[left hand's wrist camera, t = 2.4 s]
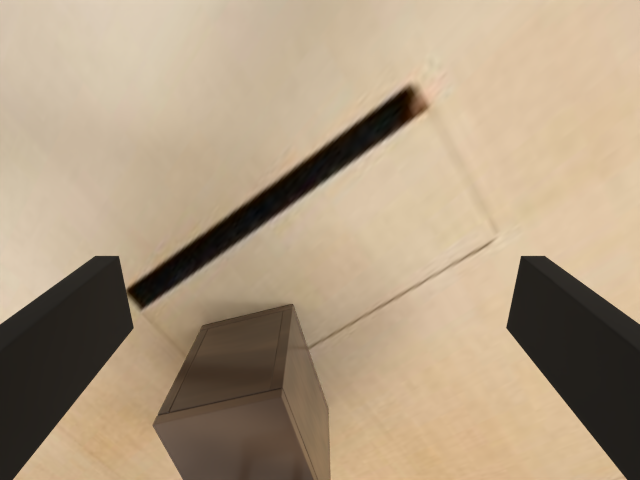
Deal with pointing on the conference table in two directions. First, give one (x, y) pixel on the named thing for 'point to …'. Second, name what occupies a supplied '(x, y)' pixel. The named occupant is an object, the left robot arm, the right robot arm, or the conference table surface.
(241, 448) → the lid
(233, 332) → the chest
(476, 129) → the conference table surface
